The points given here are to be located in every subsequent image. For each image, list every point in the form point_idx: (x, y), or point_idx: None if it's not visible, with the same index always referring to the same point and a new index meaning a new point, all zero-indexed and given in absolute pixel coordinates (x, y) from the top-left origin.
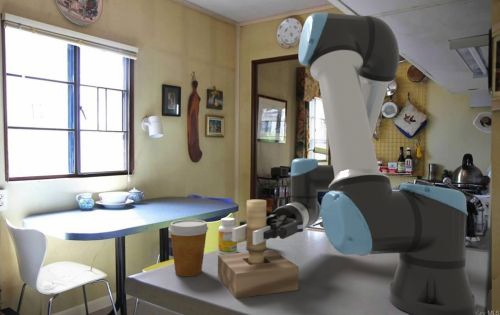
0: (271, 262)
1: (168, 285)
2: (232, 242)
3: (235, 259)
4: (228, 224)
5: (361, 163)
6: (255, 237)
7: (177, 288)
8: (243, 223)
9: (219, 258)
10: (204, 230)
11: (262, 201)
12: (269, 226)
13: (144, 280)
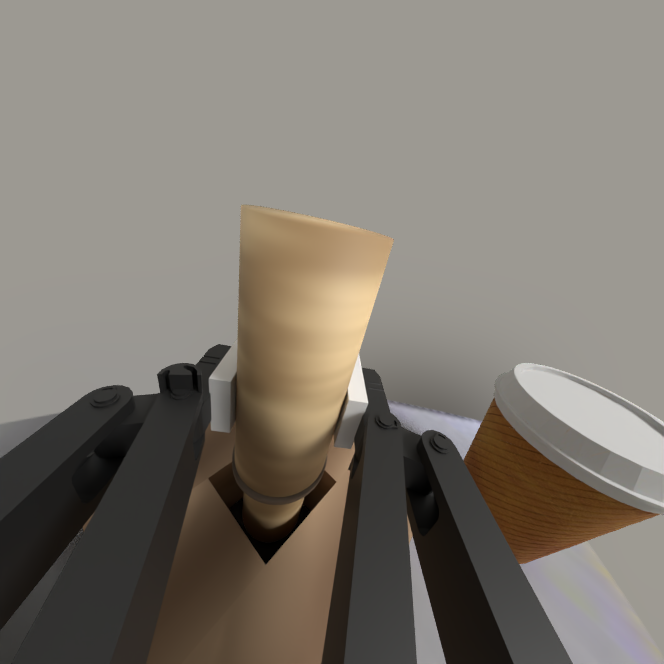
0: (205, 481)
1: (427, 420)
2: None
3: (349, 460)
4: None
5: None
6: None
7: (403, 414)
8: (419, 441)
9: None
10: (511, 411)
11: (266, 208)
12: (213, 375)
13: (479, 425)
